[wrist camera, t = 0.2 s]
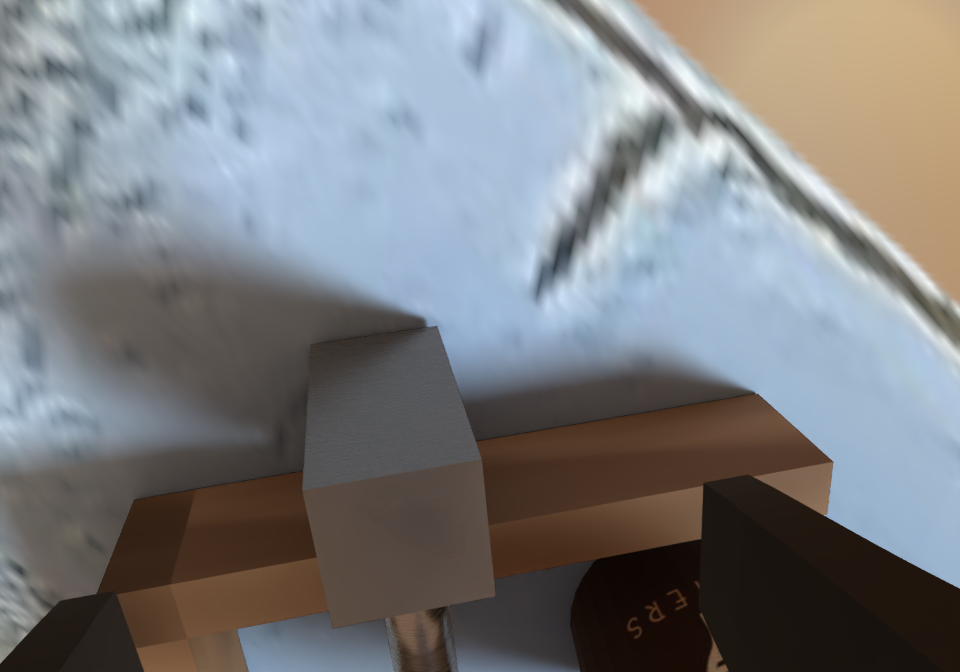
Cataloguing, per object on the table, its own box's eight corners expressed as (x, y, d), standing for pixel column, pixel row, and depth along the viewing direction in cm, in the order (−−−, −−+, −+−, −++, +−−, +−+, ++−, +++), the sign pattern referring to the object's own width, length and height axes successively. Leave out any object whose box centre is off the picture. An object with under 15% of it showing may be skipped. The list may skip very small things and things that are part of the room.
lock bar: (470, 607, 22) (516, 804, 17) (366, 627, 22) (377, 837, 16) (437, 325, 18) (481, 458, 13) (310, 344, 18) (302, 489, 13)
